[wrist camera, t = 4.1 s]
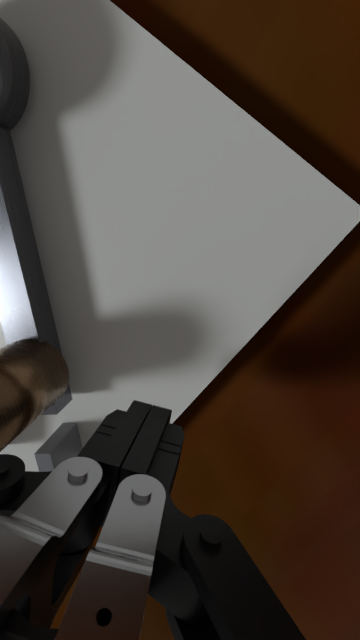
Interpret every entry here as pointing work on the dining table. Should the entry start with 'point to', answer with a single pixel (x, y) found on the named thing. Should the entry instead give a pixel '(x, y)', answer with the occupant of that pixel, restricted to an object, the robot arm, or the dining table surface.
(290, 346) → the dining table surface
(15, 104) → the lever
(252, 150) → the dial board
